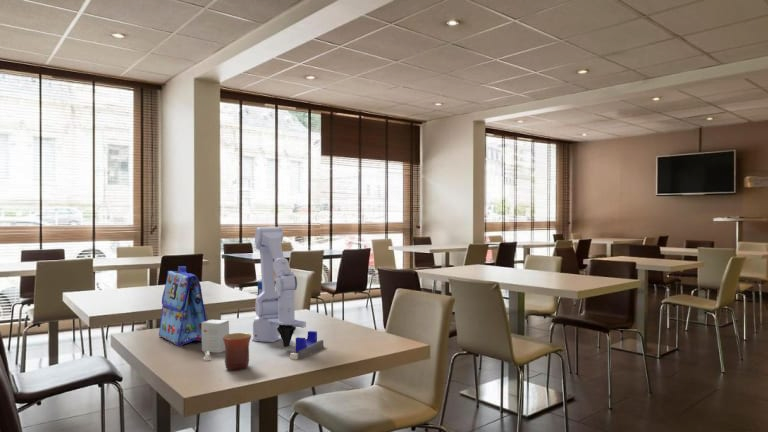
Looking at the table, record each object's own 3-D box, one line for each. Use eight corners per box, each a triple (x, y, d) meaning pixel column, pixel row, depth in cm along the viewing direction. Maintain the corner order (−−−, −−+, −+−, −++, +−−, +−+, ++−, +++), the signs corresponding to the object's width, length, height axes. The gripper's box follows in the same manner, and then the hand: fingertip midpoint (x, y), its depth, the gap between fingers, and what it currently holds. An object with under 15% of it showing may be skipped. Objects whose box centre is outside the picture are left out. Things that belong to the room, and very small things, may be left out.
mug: (248, 371, 161) (248, 338, 161) (219, 372, 160) (219, 339, 160) (255, 361, 173) (254, 330, 173) (228, 361, 172) (228, 331, 172)
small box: (229, 349, 188) (229, 320, 188) (220, 353, 183) (219, 323, 183) (211, 347, 191) (211, 319, 191) (201, 351, 186) (201, 322, 186)
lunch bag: (157, 336, 209) (157, 265, 209) (191, 331, 218) (191, 263, 218) (176, 347, 192) (176, 269, 192) (212, 341, 201) (211, 266, 201)
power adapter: (211, 361, 175) (211, 351, 175) (204, 362, 173) (204, 353, 173) (207, 359, 177) (207, 350, 177) (200, 361, 175) (200, 351, 175)
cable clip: (305, 346, 192) (305, 330, 192) (317, 347, 191) (317, 331, 191) (291, 355, 180) (291, 338, 180) (303, 356, 179) (303, 338, 179)
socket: (290, 358, 175) (290, 351, 175) (316, 345, 193) (316, 338, 193) (299, 359, 174) (299, 352, 174) (324, 346, 192) (324, 339, 192)
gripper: (262, 309, 185) (263, 347, 185) (299, 311, 180) (299, 350, 180) (273, 306, 192) (273, 342, 192) (308, 308, 187) (308, 345, 187)
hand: (286, 346), depth 187 cm, fingers closed
